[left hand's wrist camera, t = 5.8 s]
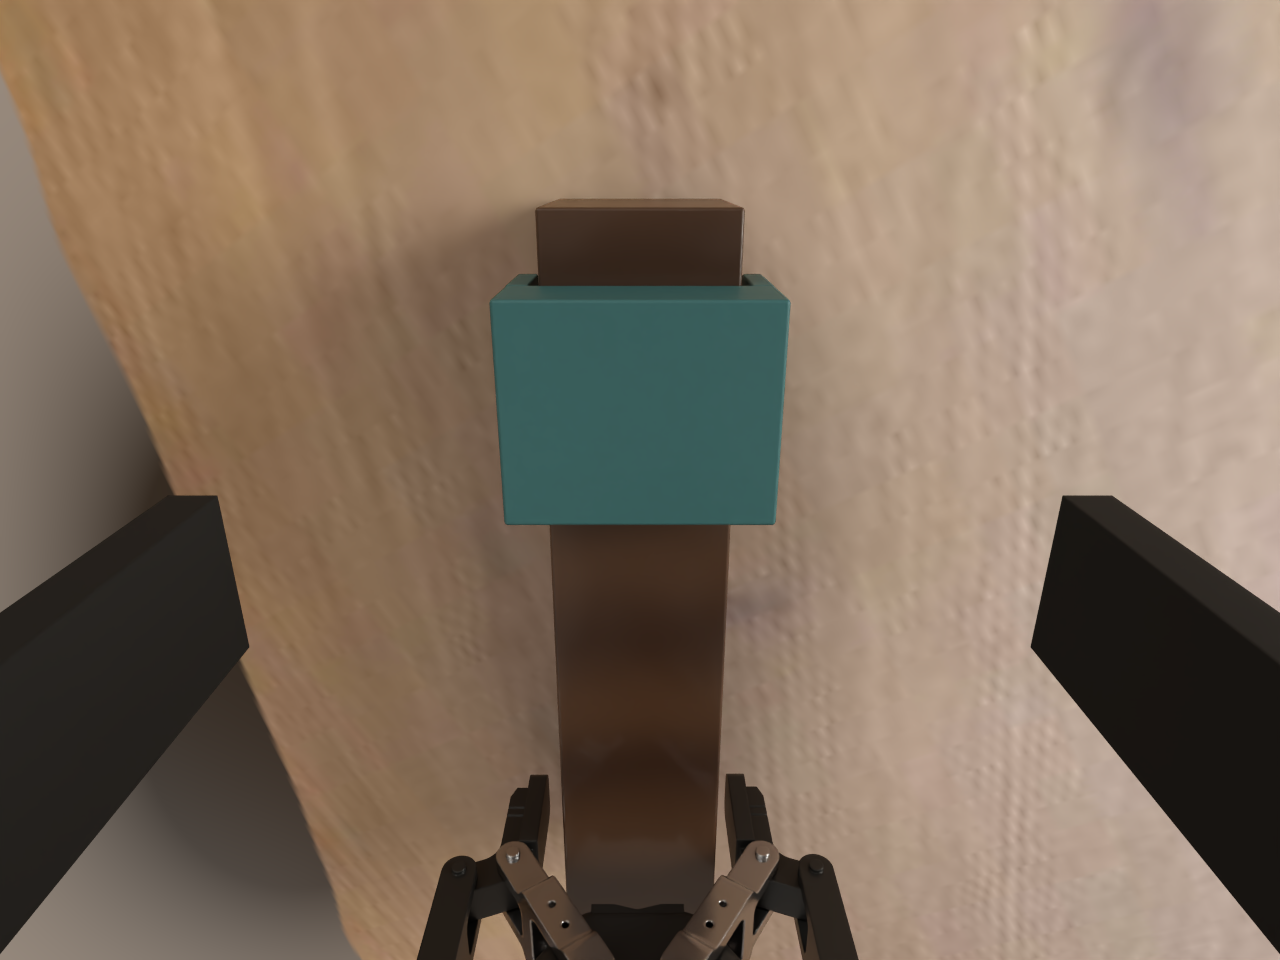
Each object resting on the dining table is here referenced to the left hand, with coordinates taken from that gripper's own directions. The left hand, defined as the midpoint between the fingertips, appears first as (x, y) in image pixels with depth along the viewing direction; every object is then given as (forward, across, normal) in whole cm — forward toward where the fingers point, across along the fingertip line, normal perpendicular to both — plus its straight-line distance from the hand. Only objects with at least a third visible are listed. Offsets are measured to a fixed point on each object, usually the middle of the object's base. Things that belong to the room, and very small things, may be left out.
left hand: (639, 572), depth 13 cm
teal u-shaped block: (+13, 0, 0) cm, 13 cm away
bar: (+17, 0, -8) cm, 19 cm away
